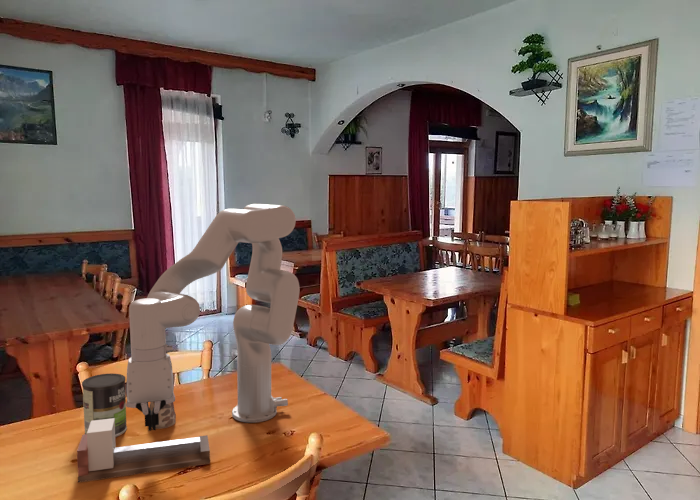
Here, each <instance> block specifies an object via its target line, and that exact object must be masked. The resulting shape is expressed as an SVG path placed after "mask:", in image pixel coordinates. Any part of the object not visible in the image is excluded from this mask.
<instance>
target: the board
mask: <svg viewBox="0 0 700 500" xmlns="http://www.w3.org/2000/svg"><path fill="white" fill-rule="evenodd" d="M198 437H200V453H199V454H191V455H184V456H177V457H169V458H162V459H155V460H147V461H140V462H133V463H125V464H118V465H114V467H113V468H110V469H103V470H95V471H89V467H88V446H87V434H85V433H84V434H82V435H81V439H80V441H79V444H78V447H77V450H76V461H77V463H76V464H77V483H83V482H84V483H85V482H92V481H98V480H105V479H112V478H119V477H126V476H132V475H133V476H134V475H140V474H141V475H142V474H146V473H154V472H161V471H168V470H169V471H170V470H174V469H182V468H189V467H197V466H202V465H211V456H210V455H211V452H210V451H211V450H210V444H209V437H208V434H207V435H199V436H198Z"/></svg>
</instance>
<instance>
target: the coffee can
mask: <svg viewBox="0 0 700 500" xmlns="http://www.w3.org/2000/svg"><path fill="white" fill-rule="evenodd" d="M81 386H82V403H83V420H84V421H83V424H84V425H83V426H84V434H87V431H88V428H89V426H90V423H91V421H93V420H102V419H111V418H115V438H117V437H119V436H121V435H123V434H124V433H125V432H126V431H127V430H128V426H127V407H126V403H127V392H126V376H125V375H123V374H120V373H114V372H113V373H101V374H95V375H92V376H90V377H88V378H85V379H84V380H83V381H82V382H81Z"/></svg>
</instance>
